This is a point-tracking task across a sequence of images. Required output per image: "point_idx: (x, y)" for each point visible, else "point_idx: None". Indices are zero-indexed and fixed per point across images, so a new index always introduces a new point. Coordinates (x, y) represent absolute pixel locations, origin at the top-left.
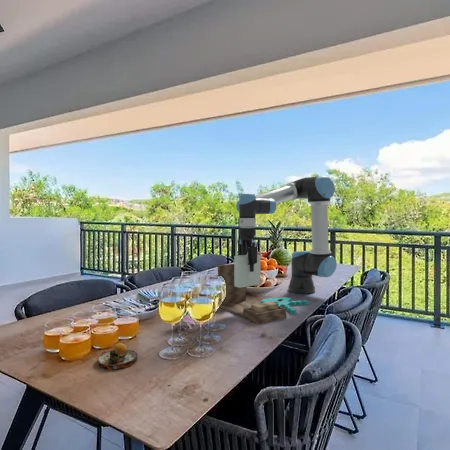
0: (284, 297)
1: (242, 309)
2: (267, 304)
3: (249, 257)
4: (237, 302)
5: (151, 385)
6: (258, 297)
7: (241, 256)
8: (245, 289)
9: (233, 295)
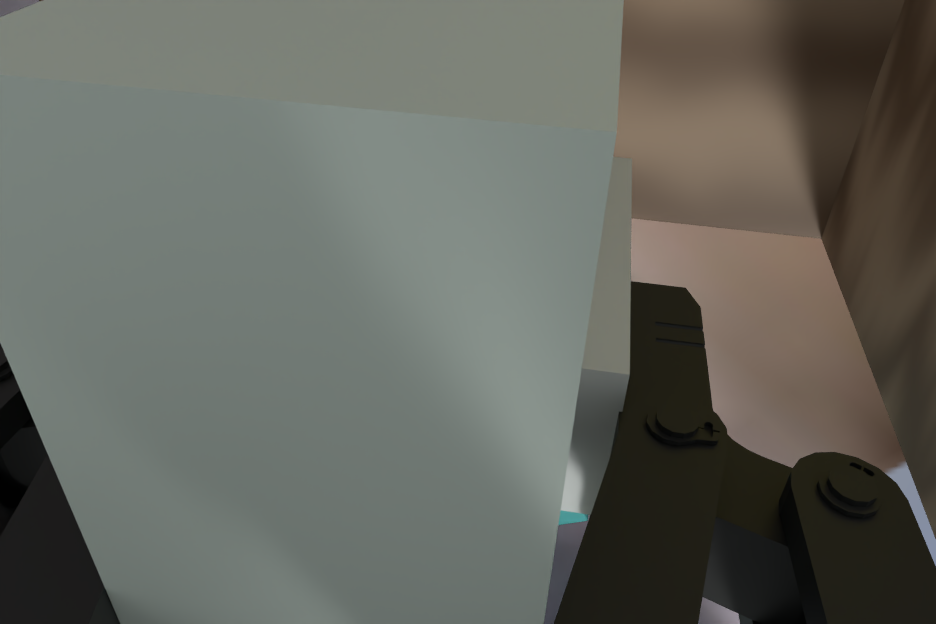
0: (568, 516)
1: None
2: None
3: (23, 523)
4: (842, 87)
5: None
6: (842, 436)
7: (54, 314)
8: (857, 309)
9: (921, 75)
